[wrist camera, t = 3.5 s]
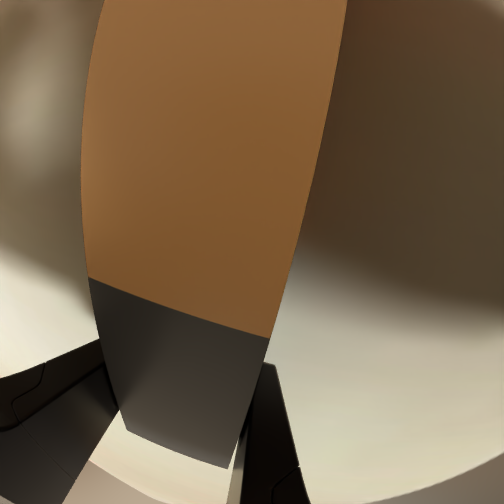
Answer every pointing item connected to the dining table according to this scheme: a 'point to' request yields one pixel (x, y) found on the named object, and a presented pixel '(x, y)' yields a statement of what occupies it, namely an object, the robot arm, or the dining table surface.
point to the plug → (198, 199)
